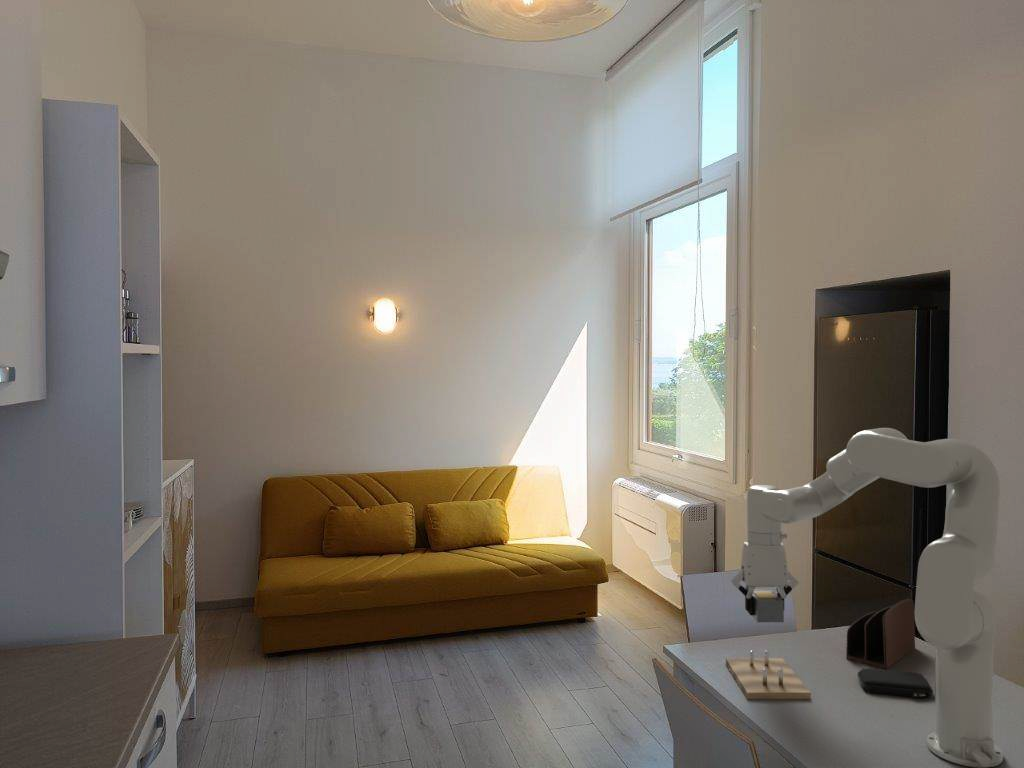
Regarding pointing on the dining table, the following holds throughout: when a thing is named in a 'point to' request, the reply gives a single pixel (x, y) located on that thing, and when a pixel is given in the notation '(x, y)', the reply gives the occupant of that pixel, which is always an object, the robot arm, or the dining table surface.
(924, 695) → the carrying case or bag
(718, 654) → the dining table surface
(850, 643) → the letter holder
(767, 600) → the block
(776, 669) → the tray
